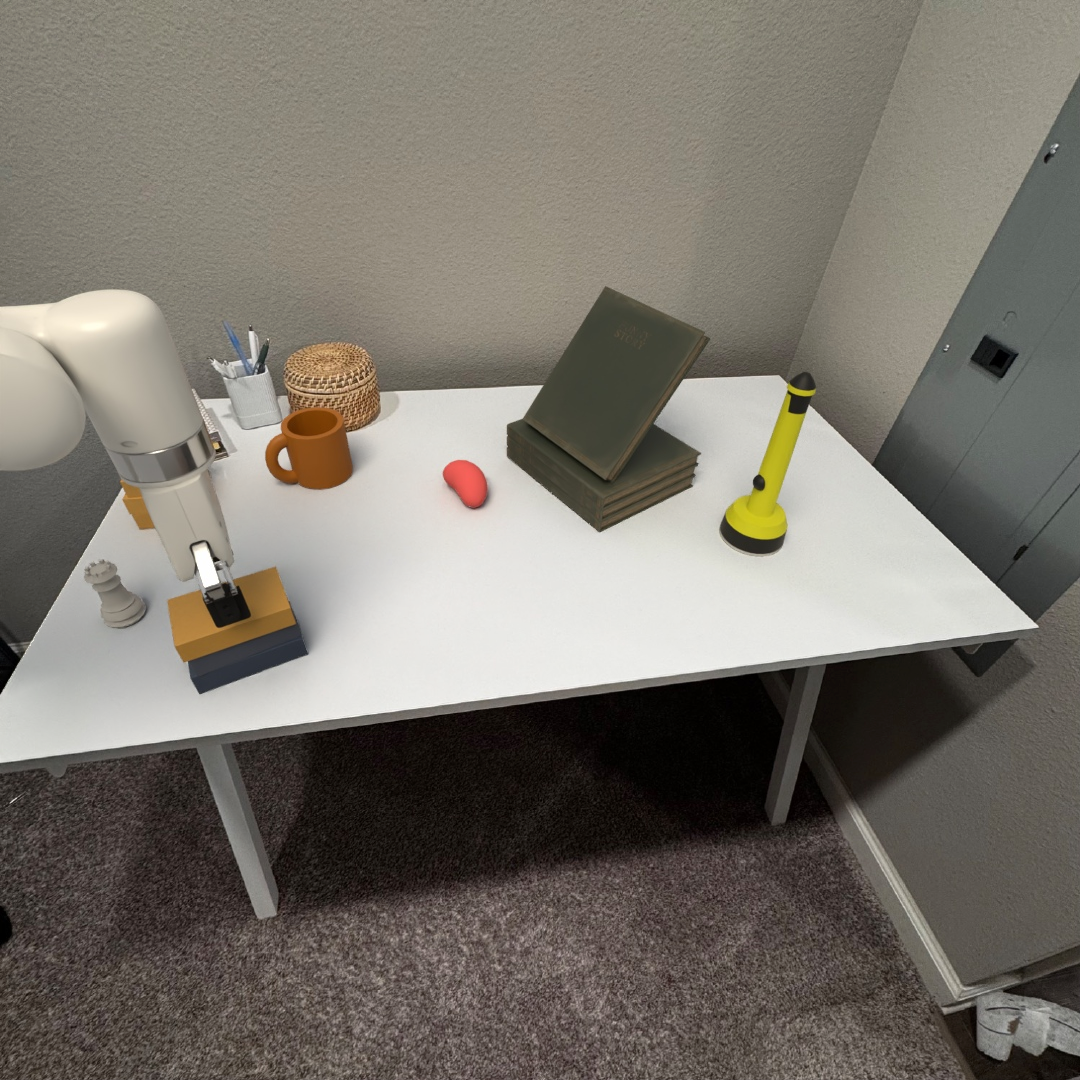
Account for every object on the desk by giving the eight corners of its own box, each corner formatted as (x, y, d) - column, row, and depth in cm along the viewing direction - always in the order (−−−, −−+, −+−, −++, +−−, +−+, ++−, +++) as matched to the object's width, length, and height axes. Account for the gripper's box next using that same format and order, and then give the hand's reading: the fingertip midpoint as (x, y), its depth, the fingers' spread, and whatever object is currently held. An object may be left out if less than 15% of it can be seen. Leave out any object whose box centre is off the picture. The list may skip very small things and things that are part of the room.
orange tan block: (183, 663, 62) (174, 646, 60) (175, 616, 67) (166, 599, 65) (296, 624, 66) (290, 607, 65) (281, 582, 71) (275, 566, 69)
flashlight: (815, 352, 77) (752, 360, 74) (864, 386, 70) (797, 395, 68) (760, 510, 93) (707, 521, 91) (796, 549, 87) (740, 561, 85)
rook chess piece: (135, 630, 72) (106, 582, 67) (97, 629, 72) (64, 580, 67) (154, 602, 75) (128, 554, 70) (117, 601, 75) (88, 552, 70)
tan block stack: (196, 525, 86) (176, 479, 81) (136, 531, 85) (112, 484, 80) (211, 477, 95) (194, 432, 90) (157, 481, 93) (137, 436, 88)
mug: (269, 467, 97) (253, 416, 91) (347, 452, 101) (337, 402, 95) (276, 500, 91) (260, 448, 85) (359, 482, 95) (349, 431, 89)
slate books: (199, 695, 66) (181, 662, 62) (191, 650, 70) (173, 617, 66) (309, 655, 70) (298, 622, 67) (295, 615, 75) (284, 582, 71)
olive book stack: (506, 457, 101) (506, 303, 85) (597, 422, 111) (613, 278, 94) (598, 533, 88) (619, 368, 71) (693, 486, 97) (731, 331, 81)
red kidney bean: (483, 483, 98) (464, 448, 95) (500, 496, 90) (480, 460, 87) (455, 500, 97) (435, 466, 95) (470, 515, 90) (448, 479, 87)
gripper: (106, 411, 56) (175, 549, 68) (117, 520, 45) (198, 663, 57) (196, 392, 59) (248, 528, 71) (227, 491, 48) (282, 633, 60)
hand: (225, 588), depth 64 cm, fingers open, 9 cm apart
